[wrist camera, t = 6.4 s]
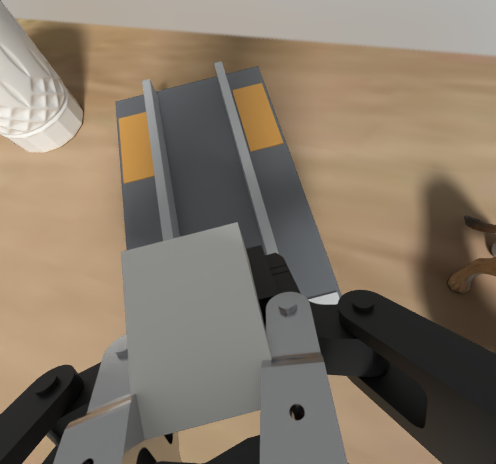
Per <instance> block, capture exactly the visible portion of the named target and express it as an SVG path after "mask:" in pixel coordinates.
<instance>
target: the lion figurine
mask: <svg viewBox="0 0 496 464" xmlns="http://www.w3.org/2000/svg"><path fill="white" fill-rule="evenodd" d="M464 219H465V223H466V225H467V226H469V227H471V228H472V229H476V230H479V231H483V232H494V233H496V225H492V224H486V223H483V222H481V221H480V220H478V219H475V218H472V217H470V216H468V215H465V216H464ZM492 253H493V255H494V256H495V257H493V258H479V259H476V260H474V261H473V262H472V263H471V264H469V265H468V266H467V267H465V268H463V269H462V270H459V271H457V272H456V273H454V274H453V275H452V276H451V277H450V278H449V281H448V285H449V287H450V288H451V289H452V290H453V291H456V292H460V293H463V292H467V291H469V290H470V286H471V280H472V278H473V277H475V276H476V275H478V274H482V273H484V274H489V275H493V276H496V242H495V243H494V244H493V246H492Z"/></svg>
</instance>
